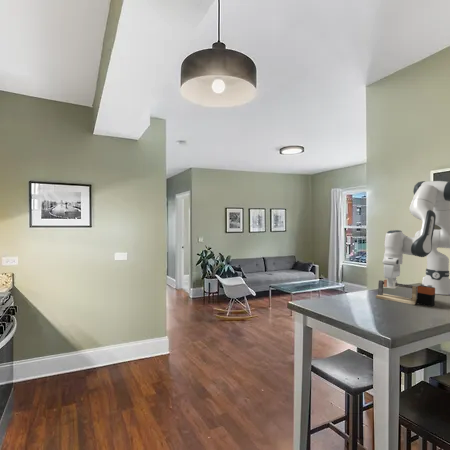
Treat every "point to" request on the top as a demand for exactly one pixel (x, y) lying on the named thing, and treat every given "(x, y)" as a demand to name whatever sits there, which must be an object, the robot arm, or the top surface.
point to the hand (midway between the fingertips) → (391, 285)
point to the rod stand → (397, 298)
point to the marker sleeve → (393, 284)
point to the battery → (426, 295)
